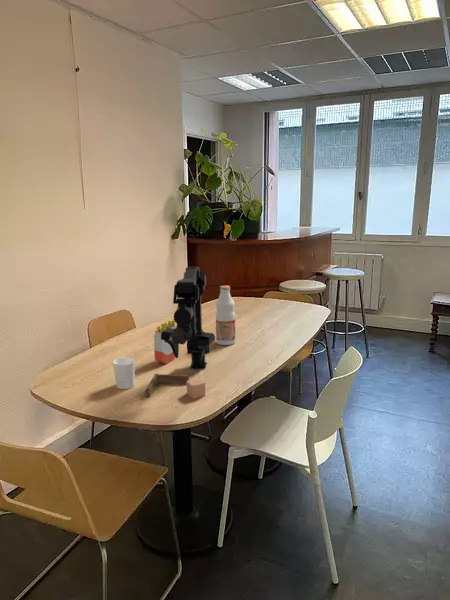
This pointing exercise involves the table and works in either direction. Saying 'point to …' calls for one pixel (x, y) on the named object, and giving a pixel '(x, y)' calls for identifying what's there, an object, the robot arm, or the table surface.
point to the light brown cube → (195, 388)
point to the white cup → (124, 372)
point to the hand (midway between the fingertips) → (188, 359)
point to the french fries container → (163, 344)
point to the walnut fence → (165, 381)
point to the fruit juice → (225, 318)
